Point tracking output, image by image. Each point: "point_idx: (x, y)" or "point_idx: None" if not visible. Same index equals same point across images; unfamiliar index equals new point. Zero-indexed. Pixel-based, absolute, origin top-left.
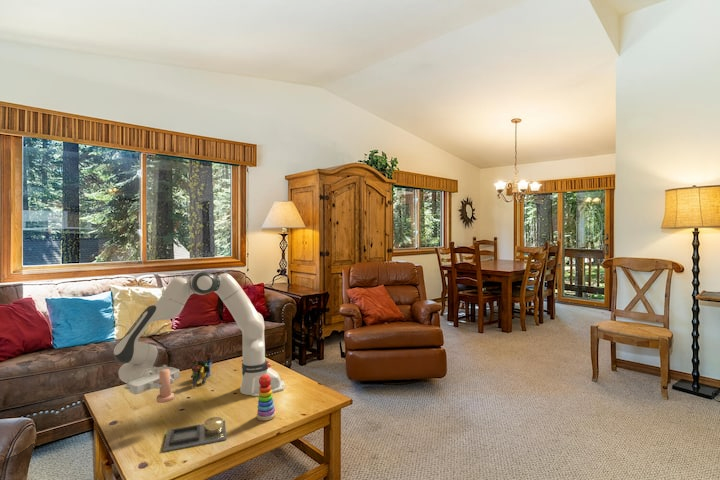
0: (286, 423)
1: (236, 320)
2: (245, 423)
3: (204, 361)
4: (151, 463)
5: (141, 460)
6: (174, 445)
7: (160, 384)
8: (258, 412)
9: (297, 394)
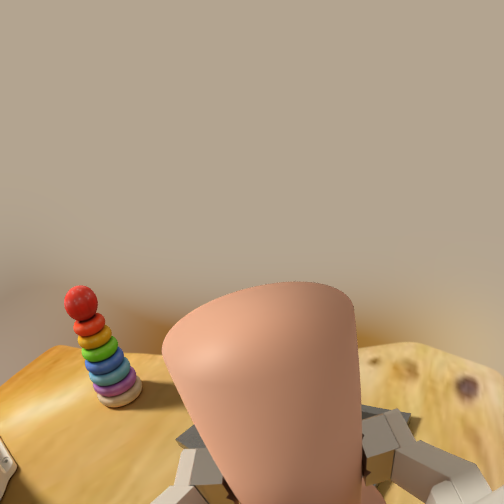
0: (142, 356)
1: None
2: (163, 406)
3: None
4: (447, 385)
5: (471, 408)
6: (376, 413)
7: (368, 418)
8: (129, 381)
9: (20, 401)
